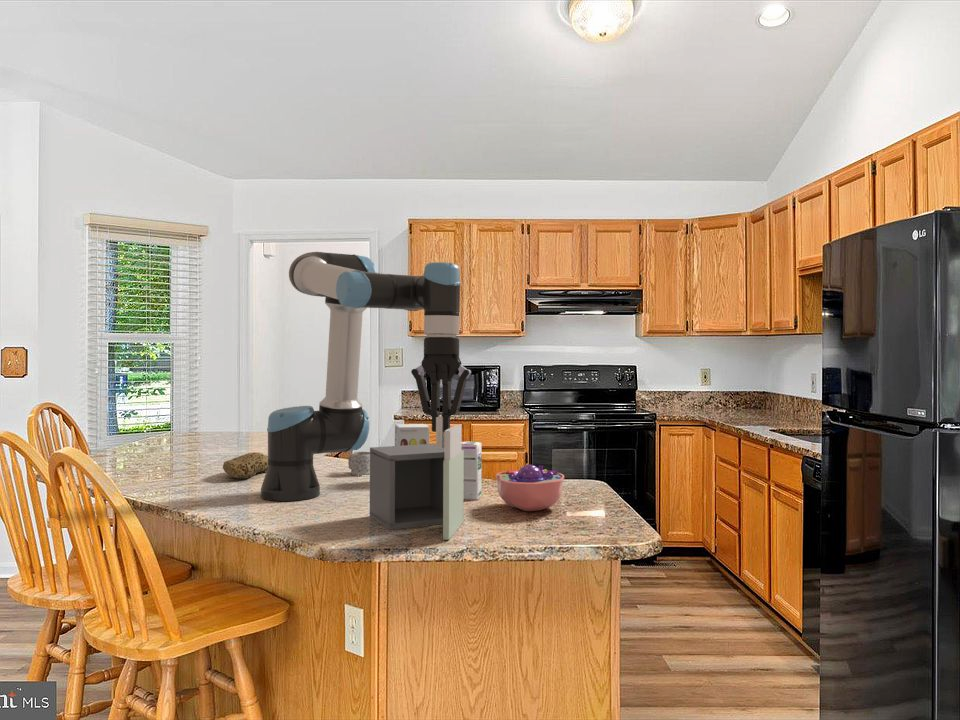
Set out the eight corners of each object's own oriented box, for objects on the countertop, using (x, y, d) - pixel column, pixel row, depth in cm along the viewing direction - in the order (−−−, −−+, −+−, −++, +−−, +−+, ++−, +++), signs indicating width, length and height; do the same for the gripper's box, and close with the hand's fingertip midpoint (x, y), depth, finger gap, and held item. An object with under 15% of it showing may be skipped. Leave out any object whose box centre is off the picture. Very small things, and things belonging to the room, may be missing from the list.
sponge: (249, 473, 226) (204, 470, 208) (256, 450, 227) (212, 444, 209) (280, 484, 221) (237, 482, 203) (288, 460, 222) (245, 455, 203)
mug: (377, 474, 219) (377, 453, 218) (359, 477, 214) (359, 455, 214) (357, 470, 225) (357, 450, 225) (340, 473, 221) (340, 452, 221)
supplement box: (396, 485, 200) (397, 426, 200) (393, 479, 209) (393, 423, 209) (430, 484, 203) (430, 426, 203) (424, 478, 212) (425, 423, 212)
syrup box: (477, 500, 181) (478, 444, 181) (455, 499, 182) (456, 443, 182) (482, 495, 187) (482, 441, 187) (460, 494, 188) (460, 440, 188)
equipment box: (369, 515, 163) (369, 447, 163) (433, 509, 170) (433, 443, 170) (389, 529, 151) (389, 455, 150) (457, 522, 158) (457, 451, 158)
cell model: (568, 502, 180) (569, 458, 180) (559, 520, 160) (560, 470, 160) (504, 498, 184) (504, 455, 184) (487, 515, 164) (487, 467, 164)
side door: (443, 539, 142) (443, 431, 142) (458, 521, 157) (458, 423, 157) (448, 539, 142) (449, 431, 142) (463, 521, 157) (463, 423, 157)
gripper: (475, 336, 150) (474, 446, 151) (418, 336, 153) (417, 443, 154) (466, 336, 143) (465, 451, 143) (406, 335, 146) (406, 448, 146)
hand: (440, 447), depth 149 cm, fingers closed
